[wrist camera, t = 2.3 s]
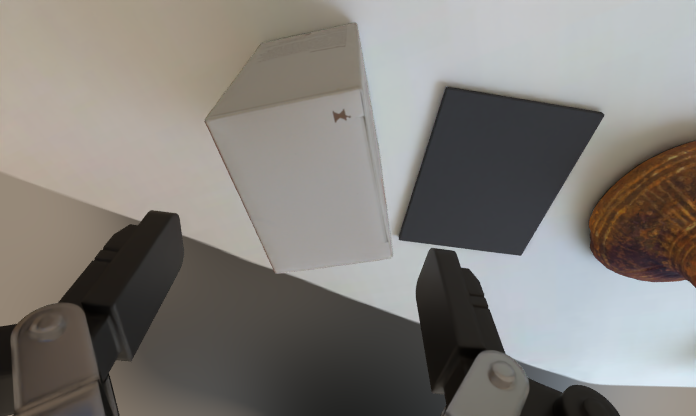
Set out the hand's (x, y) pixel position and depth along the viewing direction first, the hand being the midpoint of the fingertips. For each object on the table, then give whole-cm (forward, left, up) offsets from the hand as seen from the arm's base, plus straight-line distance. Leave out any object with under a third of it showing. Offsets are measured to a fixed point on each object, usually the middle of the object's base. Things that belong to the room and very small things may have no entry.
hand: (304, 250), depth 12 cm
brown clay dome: (+26, -4, -14) cm, 30 cm away
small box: (0, 0, -14) cm, 14 cm away
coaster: (+12, -4, -13) cm, 18 cm away
